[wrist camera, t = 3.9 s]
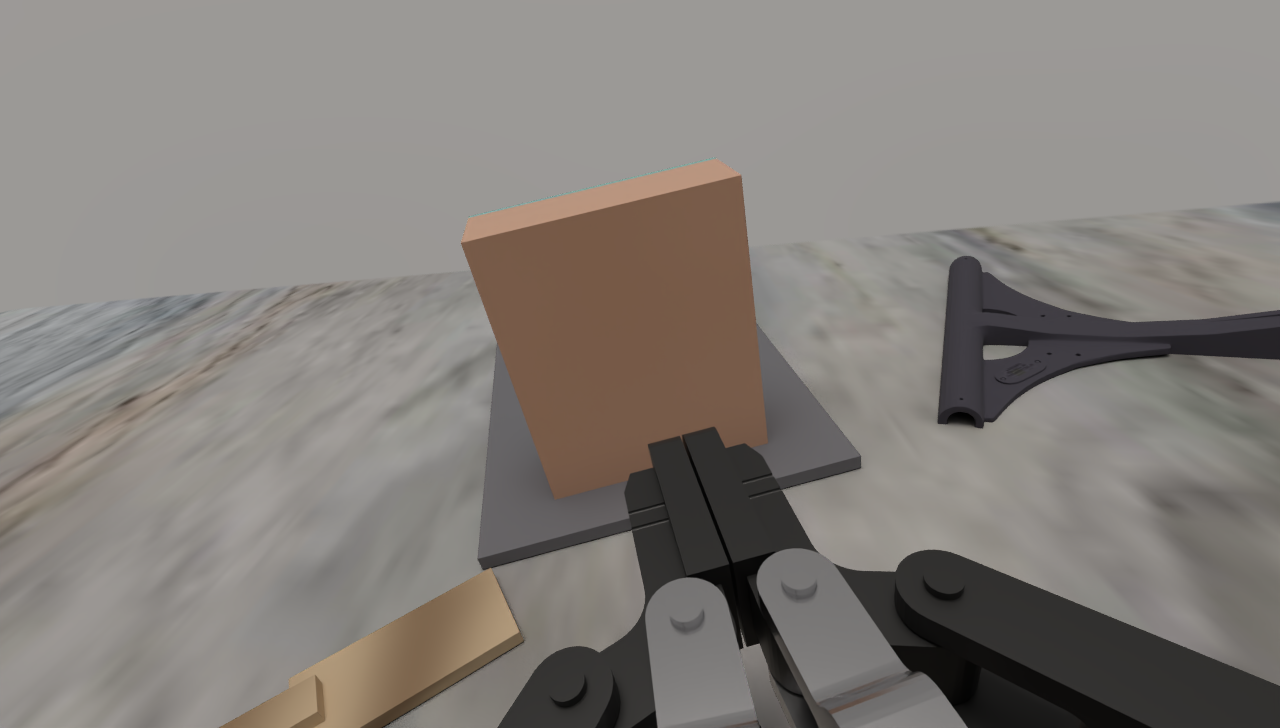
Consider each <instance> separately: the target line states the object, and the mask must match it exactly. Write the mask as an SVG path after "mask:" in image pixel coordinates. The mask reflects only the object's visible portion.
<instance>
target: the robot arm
mask: <svg viewBox="0 0 1280 728" xmlns="http://www.w3.org/2000/svg"><path fill="white" fill-rule="evenodd" d="M682 441H683V442H682ZM648 449H649V453H650V457H651V461H652V466H653V468H649V469H646V470H642V471H638V472H634V473H631V474H630V475H629V478H628V482H627V485H626V488H625V491H624V495H625V500H626V505H627V509H628V514H629V519H630V523H631V528H632V533H633V537H634V542H635V547H636V552H637V556H638V561H639V566H640V570H641V575H642V580H643V585H644V589H645V605H644V609H643V612H642V614H641V617H640V618H639V620H638V622H637V623H636V625H635V626H634V627H633V629H632V630H631V631H630V632H629V633H628V634H627V635H625V636H624V637H623V638H621V639H620V640H619V641H617V642H615V643H614V644H612V645H611V646H609V647H608V648H606V649H605V650H603V651H601V652H600V653H599V652H597V651H595V650H593V649H591V648H588V647H581V646H575V647H569V648H564V649H562V650H559V651H557V652H555V653H554V654H552V655H550V656H549V657H548V658H546V659H545V660H544V661H543V662H542V663H541V664H540V665H539V666H538V667H537V669H536V670H535V671H534V673H533V674H532V676H531V677H530V679H529V680H528V682H527V683H526V685H525V686H524V688H523V689H522V691H521V692H520V694H519V696H518V697H517V699H516V700H515V702H514V703H513V705H512V706H511V708H510V709H509V711H508V712H507V714H506V715H505V717H504V718H503V720H502V721H501V723H500V725H499V726H498V728H761V726H760V725H759V722H758V719H757V716H756V712H755V708H754V704H753V700H752V696H751V693H750V689H749V685H748V681H747V677H746V673H745V670H744V666H743V662H742V658H741V653H740V649H742V648H743V643H742V637H741V632H742V635H743V638H744V641H745V643H746V646H747V647H748V646H752V645H755V644H759V643H760V646H761V648H762V651H763V653H764V656H765V659H766V661H767V664H768V670H769V677H770V682H771V685H772V688H773V690H774V692H775V694H776V697H777V699H778V701H779V703H780V705H781V708H782V710H783V712H784V714H785V716H786V718H787V721H788V723H789V725H790V727H791V728H1280V686H1278V685H1276V684H1274V683H1271V682H1269V681H1266V680H1264V679H1261V678H1259V677H1256V676H1254V675H1251V674H1249V673H1247V672H1244V671H1242V670H1239V669H1237V668H1234V667H1232V666H1229V665H1227V664H1225V663H1222V662H1220V661H1217V660H1215V659H1212V658H1210V657H1207V656H1205V655H1202V654H1200V653H1198V652H1195V651H1193V650H1190V649H1188V648H1185V647H1183V646H1180V645H1178V644H1175V643H1173V642H1171V641H1168V640H1166V639H1163V638H1161V637H1158V636H1156V635H1153V634H1151V633H1148V632H1146V631H1144V630H1141V629H1139V628H1136V627H1134V626H1131V625H1129V624H1126V623H1124V622H1121V621H1119V620H1117V619H1114V618H1112V617H1109V616H1107V615H1104V614H1102V613H1099V612H1097V611H1095V610H1092V609H1090V608H1087V607H1085V606H1082V605H1080V604H1077V603H1075V602H1072V601H1070V600H1068V599H1065V598H1063V597H1060V596H1058V595H1055V594H1053V593H1050V592H1048V591H1045V590H1043V589H1041V588H1038V587H1036V586H1033V585H1031V584H1028V583H1026V582H1023V581H1021V580H1018V579H1016V578H1014V577H1011V576H1009V575H1006V574H1004V573H1001V572H999V571H996V570H994V569H991V568H989V567H987V566H984V565H982V564H979V563H977V562H974V561H972V560H969V559H967V558H964V557H962V556H960V555H957V554H954V553H951V552H947V551H942V550H924V551H918V552H915V553H913V554H911V555H909V556H907V557H906V558H905V559H903V560H902V561H901V563H900V564H899V565H898V568H897V570H896V572H882V571H856V570H851V569H847V568H844V567H841V566H838V565H836V564H834V563H832V562H831V561H830V560H829V559H827V558H826V557H824V556H823V555H821V554H819V553H818V551H817V550H816V549H815V548H814V546H813V545H812V544H811V542H810V540H809V538H808V536H807V535H806V533H805V531H804V529H803V527H802V526H801V524H800V522H799V520H798V518H797V517H796V515H795V513H794V511H793V509H792V508H791V506H790V504H789V502H788V501H787V499H786V497H785V495H784V493H783V492H782V491H781V489H780V486H779V484H778V483H777V481H776V479H775V477H773V475H772V472H771V470H770V468H769V467H768V465H767V463H766V461H765V459H764V458H763V456H762V455H761V454H759V453H758V452H757V451H755V450H754V449H752V448H751V447H750V446H748V445H747V444H745V443H743V444H739V445H735V446H732V447H728V448H725V446H724V444H723V442H722V440H721V438H720V436H719V433H718V431H717V429H716V428H715V427H710V428H706V429H702V430H699V431H695V432H691V433H687V434H683V435H682V439H681V437H680V436H676V437H673V438H669V439H665V440H661V441H657V442H654V443H650V444H648ZM740 629H741V631H740Z"/></svg>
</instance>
